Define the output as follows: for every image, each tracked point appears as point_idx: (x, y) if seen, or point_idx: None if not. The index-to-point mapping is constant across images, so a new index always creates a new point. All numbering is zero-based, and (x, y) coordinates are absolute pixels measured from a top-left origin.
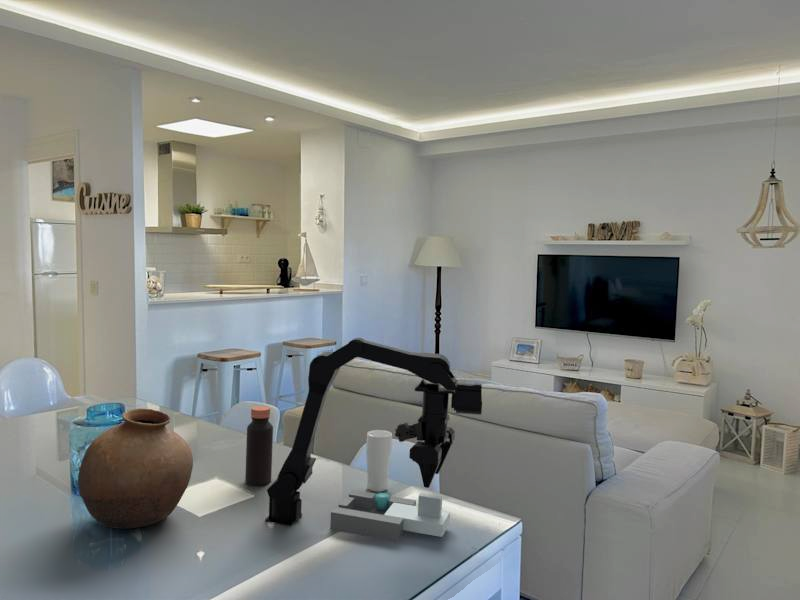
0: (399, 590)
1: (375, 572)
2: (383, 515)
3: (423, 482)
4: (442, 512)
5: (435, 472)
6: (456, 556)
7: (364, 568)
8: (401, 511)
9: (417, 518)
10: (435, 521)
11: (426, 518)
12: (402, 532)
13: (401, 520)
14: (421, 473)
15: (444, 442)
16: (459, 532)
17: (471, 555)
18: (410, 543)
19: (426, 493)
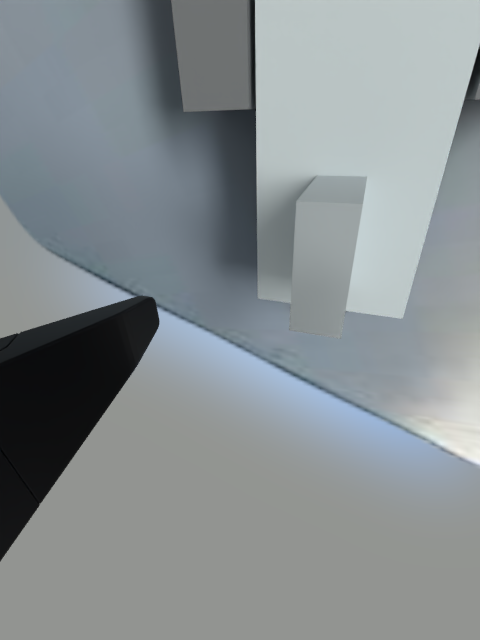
0: (13, 202)
1: (23, 106)
2: None
3: (107, 308)
4: (386, 288)
5: (81, 441)
6: (213, 312)
7: (15, 56)
8: (341, 56)
9: (278, 184)
10: (276, 268)
11: (292, 227)
12: None
13: (223, 107)
14: (18, 337)
15: None
16: (373, 318)
17: (234, 345)
18: (229, 162)
19: (351, 247)
